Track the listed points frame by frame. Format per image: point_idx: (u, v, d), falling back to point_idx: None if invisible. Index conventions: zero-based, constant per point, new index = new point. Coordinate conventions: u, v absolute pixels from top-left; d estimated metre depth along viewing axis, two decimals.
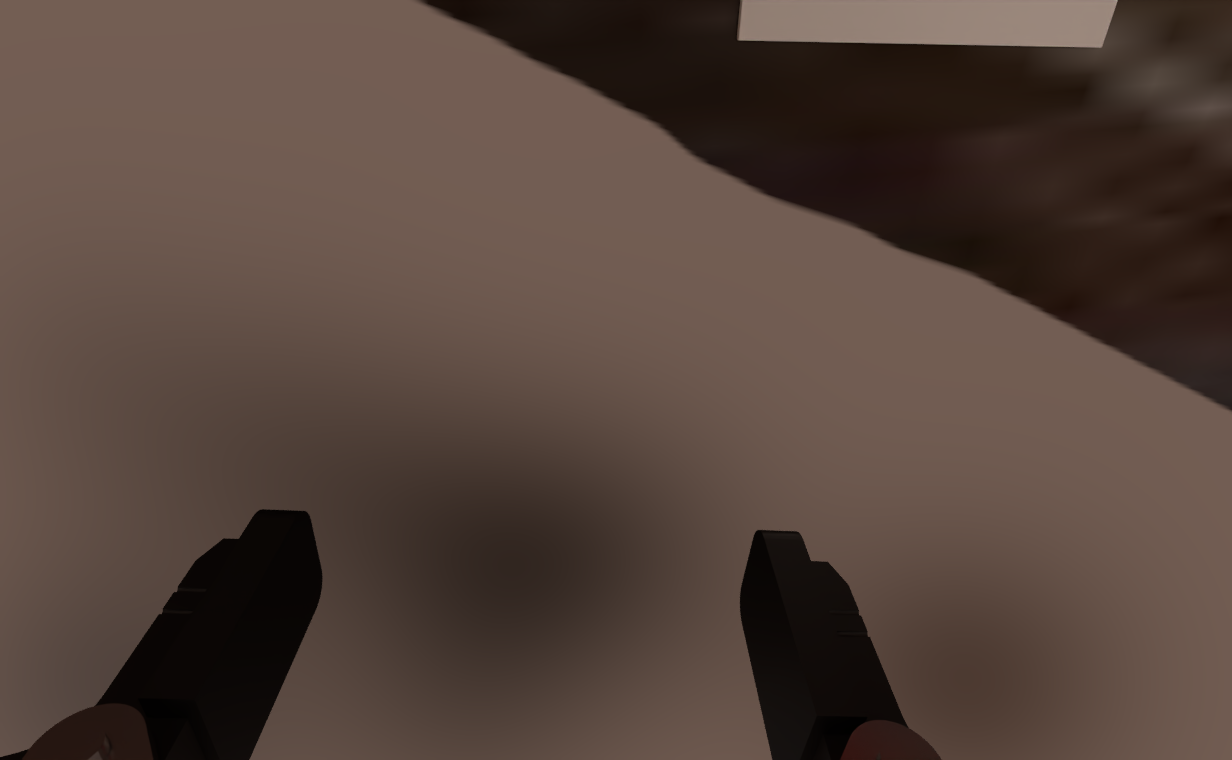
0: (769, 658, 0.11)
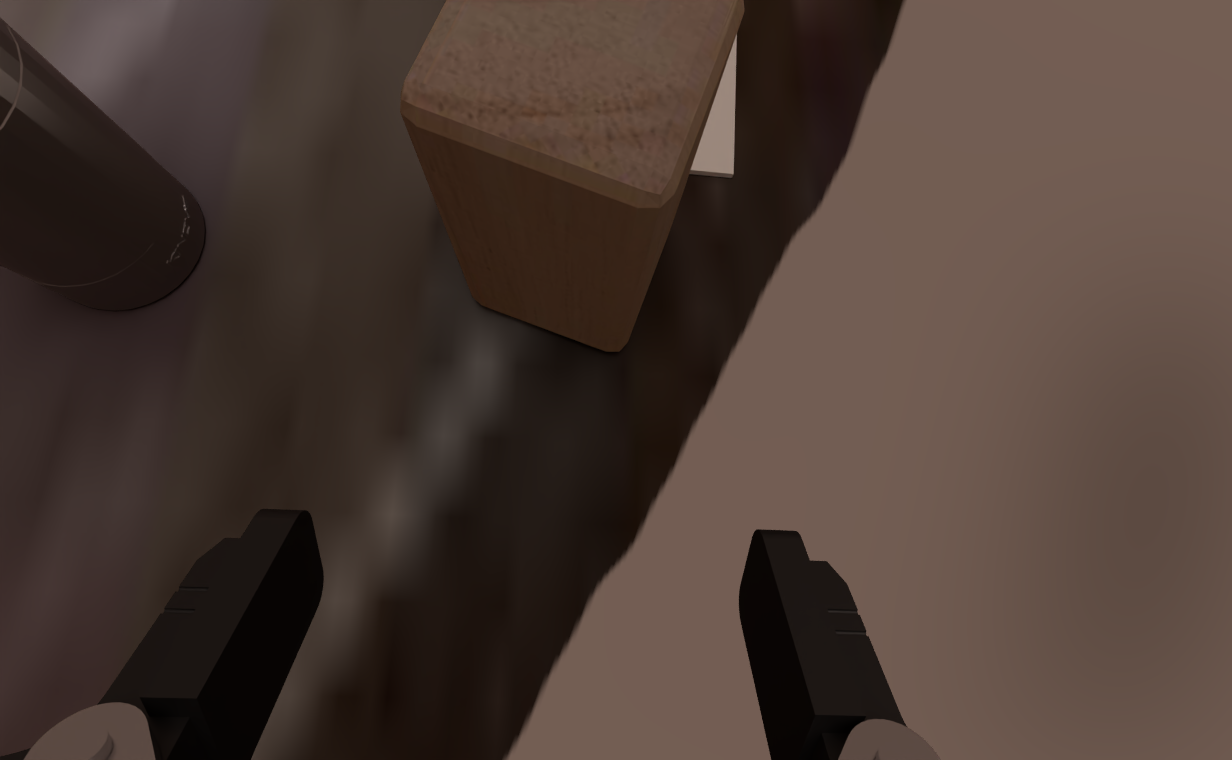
0: (768, 658, 0.11)
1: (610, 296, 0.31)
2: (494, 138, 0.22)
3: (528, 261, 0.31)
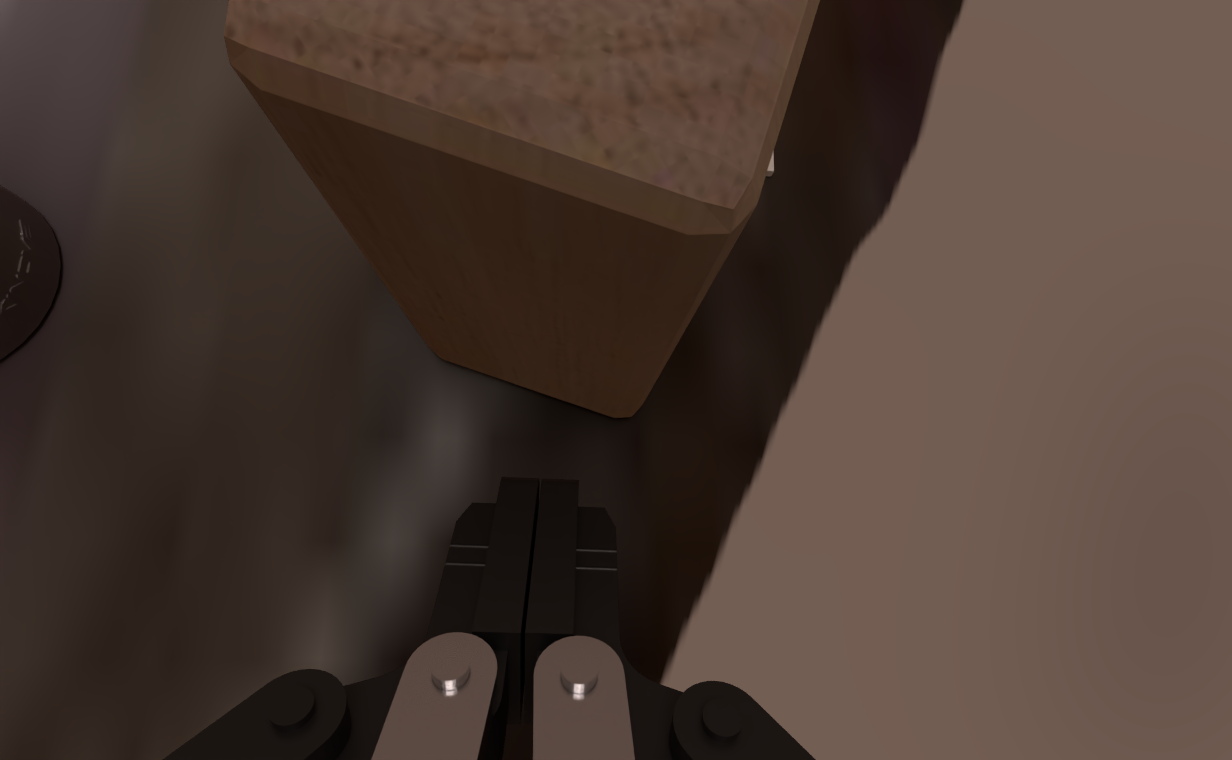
0: None
1: (624, 360, 0.20)
2: (407, 107, 0.11)
3: (497, 311, 0.20)
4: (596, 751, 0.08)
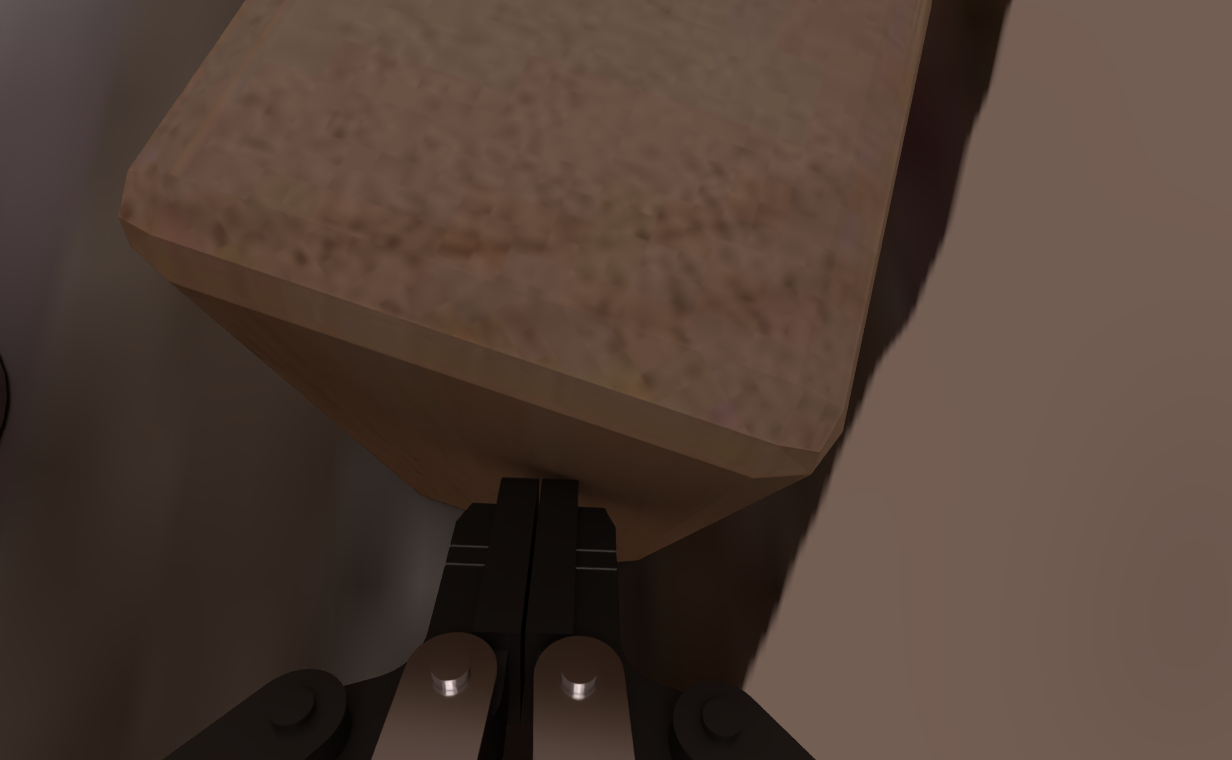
0: None
1: (640, 536, 0.17)
2: (369, 314, 0.08)
3: (486, 480, 0.16)
4: (596, 751, 0.08)
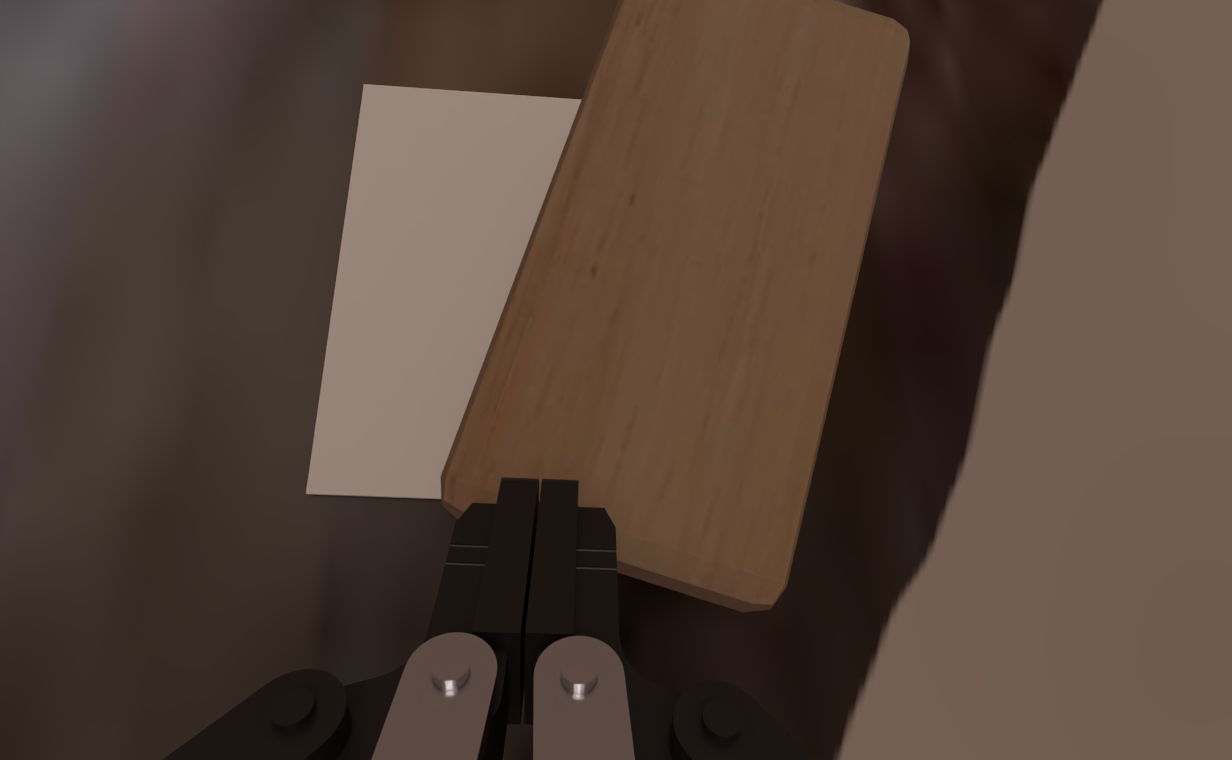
0: None
1: (825, 264, 0.20)
2: None
3: (699, 205, 0.20)
4: (596, 751, 0.08)
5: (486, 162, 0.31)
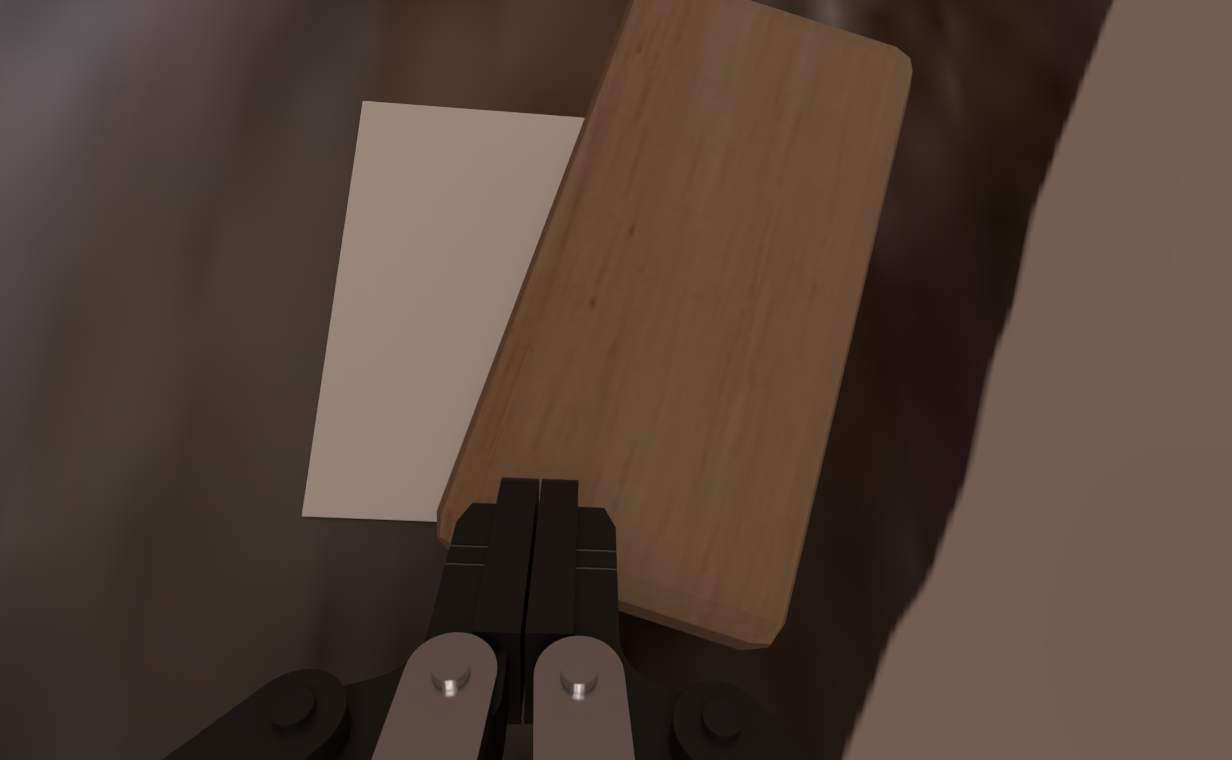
0: None
1: (825, 296, 0.19)
2: (746, 0, 0.22)
3: (699, 236, 0.20)
4: (596, 751, 0.08)
5: (485, 180, 0.31)
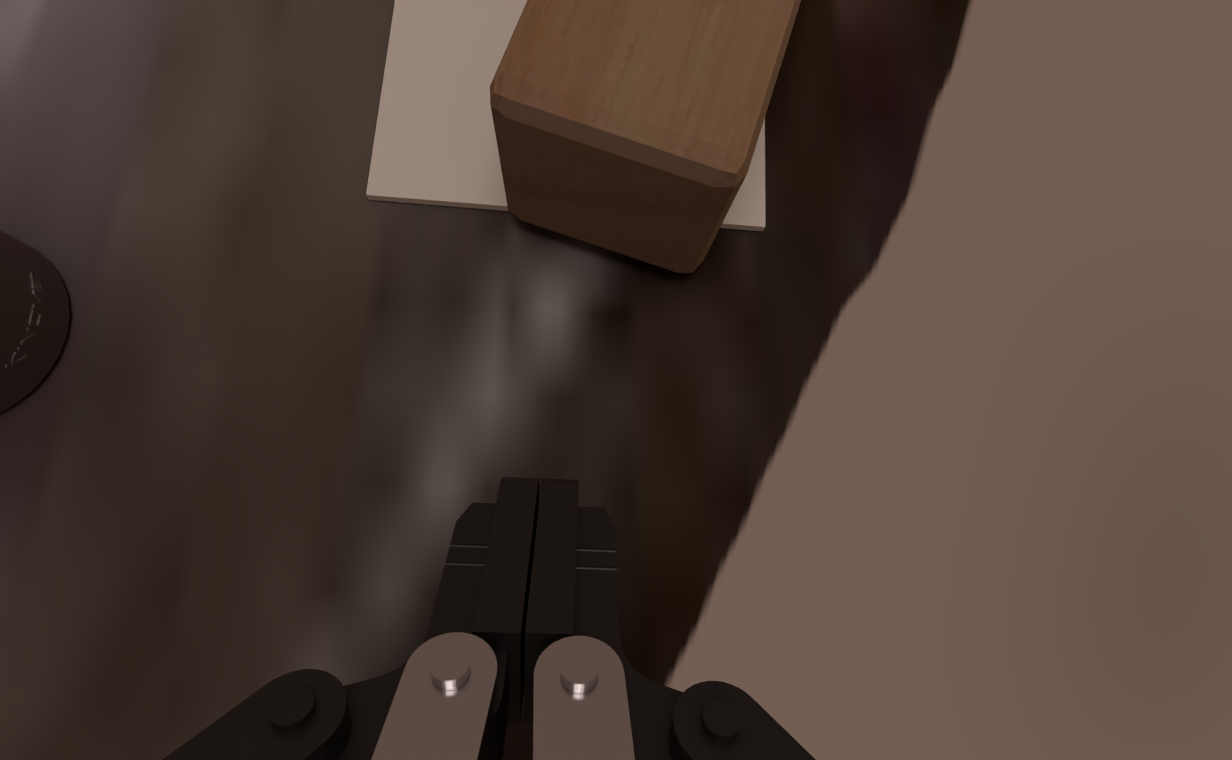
0: None
1: None
2: None
3: None
4: (596, 751, 0.08)
5: None
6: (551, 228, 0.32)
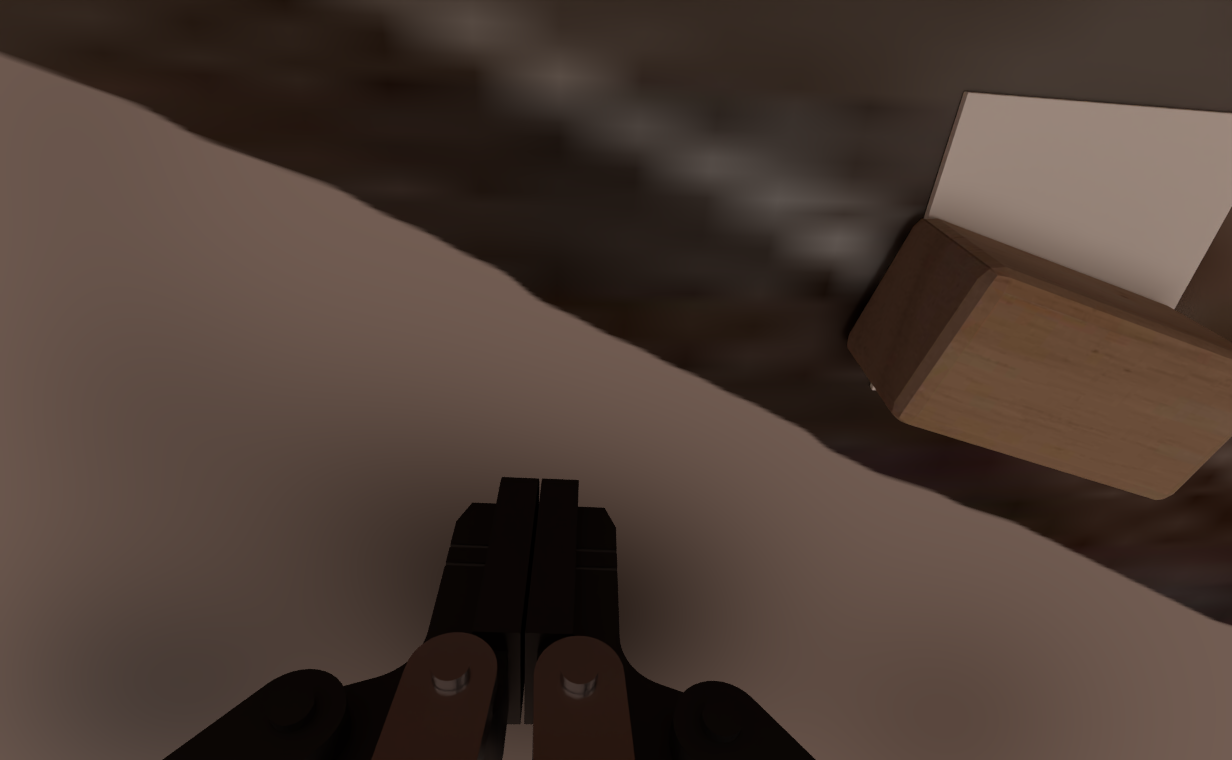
0: None
1: (1053, 453, 0.39)
2: None
3: (1109, 401, 0.37)
4: (596, 751, 0.08)
5: (1170, 213, 0.42)
6: (901, 252, 0.42)
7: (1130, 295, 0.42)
